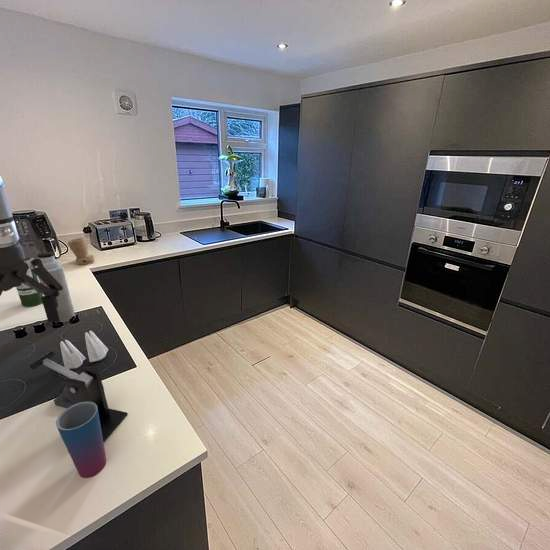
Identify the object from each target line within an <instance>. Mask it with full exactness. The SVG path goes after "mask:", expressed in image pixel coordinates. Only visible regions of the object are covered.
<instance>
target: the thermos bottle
mask: <svg viewBox="0 0 550 550" xmlns="http://www.w3.org/2000/svg"><path fill="white" fill-rule="evenodd" d="M37 258H38V259H41V261H42V264H43V266H44V268H45V269H46V270H47V271H48V272H49V273H50V274H51V275H52V276H53V277H54V278H55V279H56V280H57V281H58V283H59V284H60V285H61V286H62V287H63V289H62V290H61V291H58V292H59V296H58V297H56V298H57V302H58V307H57V312H58V316H59V319H60V322H67V321H68V320H69V319H71V318H72V317H73V316H74V315H75V316H76V313H75V309H74V305H73V302H72V298H71V294H70V290H69V286H68V283H67V279H66V275H65V272H64V268H63V267H64V266H63V265H62V264H61V263H60V261H59V260H58V259H56V257H55V253H54V252H52V251H48V252H46V251H45V252H41V253H38V254H37ZM37 278H38V281H39V283H41V284H43V285H45V286H47V285H46V284H45V283H44V282H43V281H42V280H41V279H40V278H39V277H38V276H37ZM47 287H48V286H47ZM43 296H46V295H44V294H43ZM67 323H68V322H67Z"/></svg>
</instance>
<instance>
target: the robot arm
mask: <svg viewBox="0 0 550 550" xmlns="http://www.w3.org/2000/svg"><path fill="white" fill-rule="evenodd" d="M19 240H20V235H19V233H18V228H17V225H16V222H15V220H14V216H13V212H12V208H11V205H10V201H9V198H8V194H7V191H6V187H5V182H4V180H3V179H2V176H1V175H0V297H1V296H2V293H3V292H8V291H10V290H12V289H13V288H16V287H18V286H21V284H22V283H23V284H25V285H27V286H29V287H31V288H32V289H34V290H36V291H38V292H40V293H42V294H43V297H41V299H42V302H43V303H42V306H43V309H44V312H45V315H46V319H47V322H50V323H52V322H55V323H58V322H60V319H59V316H58V312H57V307H58V302H57V298H56V297H58V296H59V292H58V291H61V290H62V289H63V287H62V286H61V285H60V284H59V283H58V281H57V280H56V279H55V278H54V277H53V276H52V275H51V274H50V273H49V272H48V271H47V270H46V269H45V268H44V266H43V264H42V261H41V259H39V257H30V256H29V257H27V261H24V260H25V257H26V256H25V255H26V254H25V252H24V248H23V246H22V243H21V242H19ZM17 241H18V242H17ZM28 268H29V269H31V270H32V271H33V272H34V273H35V274H36V275H37V278H38V277H39V278H40V279H41V280H42V281H43V282H44V283H45V284H46V285H47V286H48V287H47V286H45V285H43V284H41V283H40V281H39V280H38V281H39V282H38V281H36V280H34V278H32V277H30V276H28V275H26V273H27V271H28ZM39 278H38V279H39ZM44 295H46V296H44Z"/></svg>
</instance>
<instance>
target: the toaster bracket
mask: <svg viewBox="0 0 550 550" xmlns="http://www.w3.org/2000/svg"><path fill="white" fill-rule="evenodd" d="M79 372H80V374H81V373H82V372H84V373H86V374H88V375H90V376H92V377H93V382H92V385H91V386H89V387H88V388H86V385H85V381H80V380H76V379H71V378H69V377H67V378H66V379H65V380H64V385H65V386H66V388H67V391H68V394H69V397H70V400H71V404H72V405H75V404H77V403H81V402H93V403H95V404H96V405H97V408H98V414H99V420H100V426H101V432H102V438H103V444H105V442H106V441H107V440H108V439H109V438H110V436H111V435H112V434H113V433H114V431H116V430H117V428H118V427H119V426H120V424H121V423H122V422H123V421H124V420H125V419H126V418H127V416H128V415H129V414H128V412H126V411H122V410H119V409H114V408H109V405H108V401H107V397H106V393H105V388H104V385H102V384H103V381H102V376H101V373H100V369H99V368H98V369H97V368H93V367H87V366H81V367H80V368H79ZM103 388H104V389H103Z"/></svg>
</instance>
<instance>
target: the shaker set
mask: <svg viewBox="0 0 550 550" xmlns="http://www.w3.org/2000/svg"><path fill="white" fill-rule="evenodd" d="M84 339H85V345H86V351H87V355H88V356H87V357H88V361H89V363H94V362H100V361H103V360H104V359H105V358H106V356H107V354H108V351H109V349H108V347H107V346H106V345H105V344H104V342H102V340H101V339H100V338H99V337H98V336H97V335H96V334H95V333H94V332H93V331H92V330H89V332H84ZM59 345H60V352H61V357H62V363H63V367H65V368H67V369H69V370H71V369H77V368H79V367H82V365H83V362H84V361H85V360H87V358H86V356H85V355H83V354H82V352H80V350H78V348H77V347H76V346H75V345H73V344H72V342H70V341H69V340H67V339H64V341H60V343H59Z"/></svg>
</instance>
